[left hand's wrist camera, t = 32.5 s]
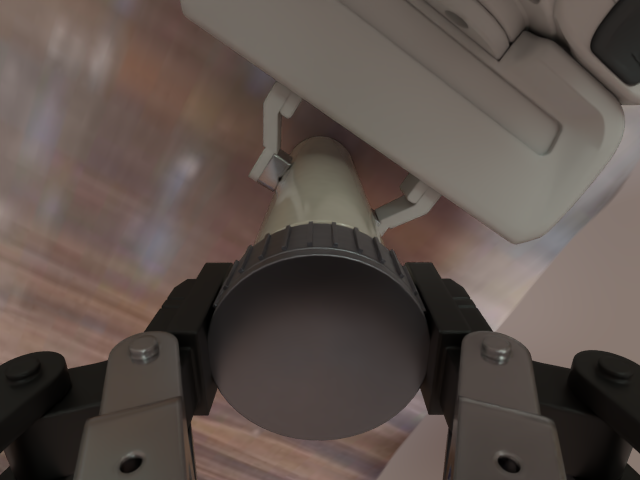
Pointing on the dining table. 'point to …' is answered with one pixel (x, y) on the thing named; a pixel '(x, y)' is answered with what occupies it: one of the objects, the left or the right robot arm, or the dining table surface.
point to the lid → (318, 333)
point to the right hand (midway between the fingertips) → (310, 212)
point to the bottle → (320, 191)
